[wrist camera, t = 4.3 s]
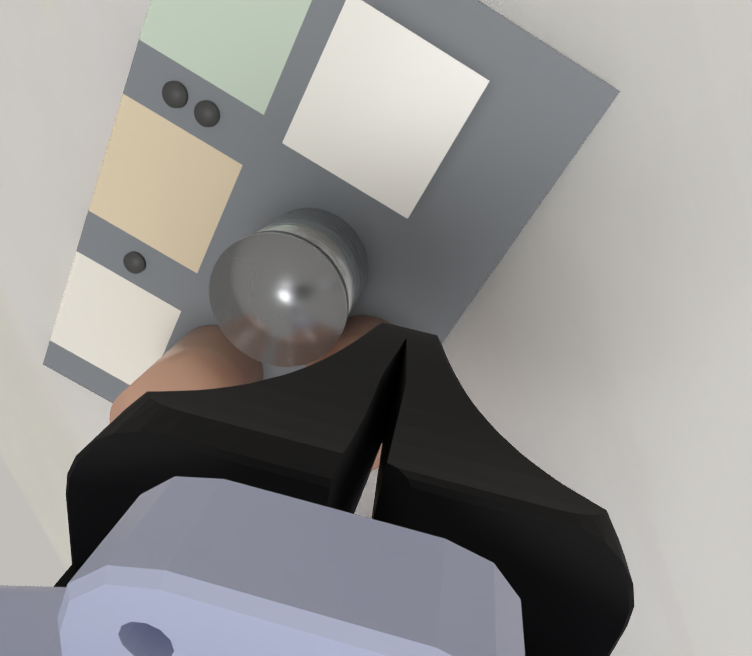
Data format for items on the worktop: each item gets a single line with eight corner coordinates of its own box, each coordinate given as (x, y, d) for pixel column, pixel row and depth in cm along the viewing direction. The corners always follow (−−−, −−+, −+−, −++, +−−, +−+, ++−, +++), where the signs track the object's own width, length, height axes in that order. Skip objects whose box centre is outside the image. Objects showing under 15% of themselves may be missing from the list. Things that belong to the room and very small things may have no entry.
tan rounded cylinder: (276, 353, 23) (229, 420, 19) (244, 419, 25) (194, 494, 21) (193, 309, 23) (125, 365, 19) (166, 378, 25) (98, 445, 21)
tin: (392, 245, 21) (372, 282, 17) (337, 337, 23) (308, 390, 19) (285, 181, 20) (240, 205, 17) (239, 280, 22) (189, 322, 19)
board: (615, 91, 18) (621, 91, 17) (321, 509, 27) (317, 520, 27) (211, -168, 17) (199, -179, 16) (51, 358, 26) (39, 366, 26)
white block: (488, 81, 18) (489, 80, 15) (417, 200, 20) (407, 218, 17) (369, 6, 18) (349, -8, 15) (309, 134, 20) (282, 143, 17)
